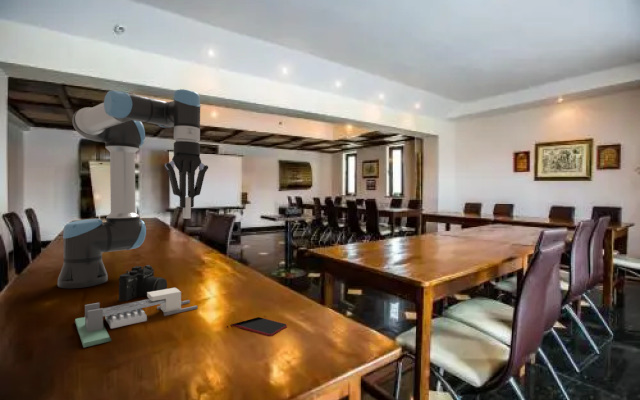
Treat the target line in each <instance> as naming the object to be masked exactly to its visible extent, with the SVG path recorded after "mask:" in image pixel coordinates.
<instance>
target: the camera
mask: <svg viewBox="0 0 640 400" xmlns="http://www.w3.org/2000/svg"><path fill="white" fill-rule="evenodd" d="M118 282H119V284H118V301H119V302H127V301H130V300H132V299H135V298H138V297H147V292H152V291H158V290H164V289H168V282H167V280H166V278H163V277H160V276H159V277H156V276H155V271H154V268H153V267H152V265H150V264H146V265H145V266H140V265H136V266H133V267H131V270H130V271H129V270H126V272H125V273H123V274H120V275H119V278H118Z"/></svg>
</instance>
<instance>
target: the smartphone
mask: <svg viewBox="0 0 640 400" xmlns="http://www.w3.org/2000/svg"><path fill="white" fill-rule="evenodd" d="M230 326H231V327H235V328H238V329H241V330H247V331H250V332H252V333H256V334H257V333H258V334H259V335H264V336H268V337H273V336H274V335H276V334H277V333H279V332H280V331H282V330H284V329H285V328H287V326H288V325H287V324H286V323H283V322H280V321H277V320H276V321H275V320H272V319H268V318H264V317H260V316H257V317H254V318H251V319H247V320H244V321H243V320H242V321H240V322H235V323H231V324H230Z"/></svg>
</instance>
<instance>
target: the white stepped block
mask: <svg viewBox="0 0 640 400" xmlns="http://www.w3.org/2000/svg"><path fill="white" fill-rule="evenodd" d="M146 297H147V299H150V300H151V301H156V300H162V299H164V300H165V303H162V304H160V306H161V309H160V310H161V311H162V312H163V313H164V312H169V311H173V310H178V309H182V305H181V301H182V291H180V289H178V288H177V287H171V288H167V289H164V290H158V291H152V292H147V296H146Z"/></svg>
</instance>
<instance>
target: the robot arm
mask: <svg viewBox="0 0 640 400" xmlns="http://www.w3.org/2000/svg"><path fill="white" fill-rule="evenodd" d="M200 98H201V97H200V94H199V93H198V92H197V91H194V90H191V89H185V88H184V89H181V88H180V89H176V90H175V91H174V93H173V99H172V100H171V101H165V100H160V99H155V98H151V97H146V96H142V95H137V94H134V93H130V92H129V93H128V92H125V91H121V90H115V89H114V90H113V89H112V90H109V91H107V93H106V94H105V95H104V101H103V102H101V103H98V104H97V105H95V106H93V107H90V106H88V107H87V106H86V107H83V108H81V109H78V110H76V111H75V112H74V114H73V116H72V125H73V128H74V129H75V131H76V132H77V133H78V134H79V135H81V136H82V137H84V138H85V139H88V140H91V141H93V142H100V143H105V144H104V145H105V146H104V147H105V149H106V150H107V151H108V152H109V164H110V165H109V169H110V170H109V171H110V172H109V174H110V178H109V179H110V182H109V183H110V213H108V215H107V216H106V218H105V220H106V221H103V220H102V219H101V218H89V219H81V220H76V221H71V222H69V223H66V224H65V225H64V227H63V234H62V238H63V265H62V267H61V270H60V273H59V275H58V278H57V287H58V288H61V289H81V288H89V287H94V286H95V287H96V286H99V285H102V284H104V283H106V282H108V280H109V279H108V273H107V269H106V268H105V264H104V262H103V253H108V252H110V253H111V252H116V251H117V252H118V251H125V250H126V251H129V250H133V249H139V247H141V245H143V243H144V242H145V239H146V235H147V226H146V224H145V221H143V220H142V219H141V217H140V215H139V214H138V213H137V212H136V160H135V159H136V153H137V152H139V150H140V147H141V146H143V145H144V143H145V139H146V131H145V126H144V124H143V123H146V124H147V123H148V124H154V125H157V126H158V127H160V128H173V140H174V142H173V156H172V159H171V161H169V162H166V163H164V164H163V165H164V168H165V170H166V171H167V175H168V177H169V178H168V179H169V182H170V186H171V190H172V194H173V195H174V196H177V197H179V208H182V219H187V220H188V219H189V220H190V219H192V216H191V215H192V208H194V205H195V203H194V202H195V197H196V196H199V195H201V193H202V187H203V184H204V179H205V175H206V172H207V171H208V170H209V166H208V165H206V164H204V163H203V162H202V160H201V156H200V155H201V152H200V151H201V144H200V143H199V142H200V141H201V107H202V106H201V99H200ZM175 168H176V169H177V171H178V175H179V177H178V178H179V179H178V180H179V182H178V180H177V175H176V171H175ZM197 169H198V174H197V178H196V181H195V175H196V171H197ZM178 183H179V185H178Z"/></svg>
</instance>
